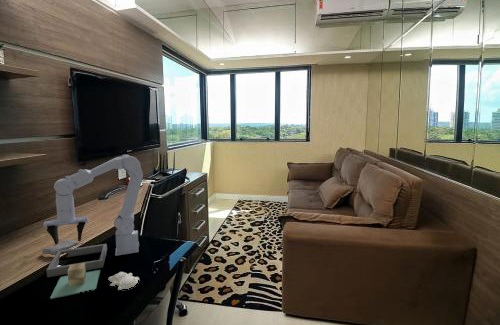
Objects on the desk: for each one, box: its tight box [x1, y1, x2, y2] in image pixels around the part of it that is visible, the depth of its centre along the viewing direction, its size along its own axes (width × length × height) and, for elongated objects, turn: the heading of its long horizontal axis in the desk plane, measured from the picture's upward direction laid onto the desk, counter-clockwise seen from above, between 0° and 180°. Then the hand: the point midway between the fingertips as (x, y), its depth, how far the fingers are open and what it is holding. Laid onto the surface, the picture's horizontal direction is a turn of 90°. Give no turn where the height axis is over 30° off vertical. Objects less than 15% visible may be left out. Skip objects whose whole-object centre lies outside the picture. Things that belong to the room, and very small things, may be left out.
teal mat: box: [49, 269, 101, 300], centre depth 93 cm, size 13×13×1 cm
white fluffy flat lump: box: [107, 271, 140, 291], centre depth 95 cm, size 9×12×3 cm
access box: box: [46, 243, 108, 278], centre depth 108 cm, size 18×16×3 cm
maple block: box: [67, 262, 87, 287], centre depth 93 cm, size 4×4×6 cm
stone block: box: [41, 239, 80, 255], centre depth 117 cm, size 12×5×10 cm
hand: (68, 241), depth 104 cm, fingers open, 7 cm apart
